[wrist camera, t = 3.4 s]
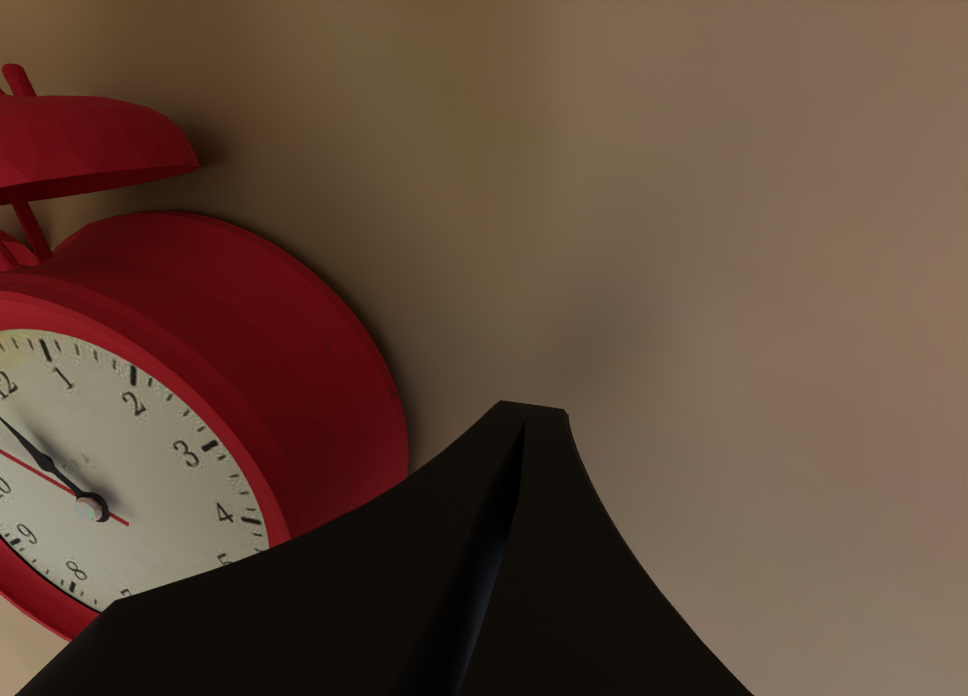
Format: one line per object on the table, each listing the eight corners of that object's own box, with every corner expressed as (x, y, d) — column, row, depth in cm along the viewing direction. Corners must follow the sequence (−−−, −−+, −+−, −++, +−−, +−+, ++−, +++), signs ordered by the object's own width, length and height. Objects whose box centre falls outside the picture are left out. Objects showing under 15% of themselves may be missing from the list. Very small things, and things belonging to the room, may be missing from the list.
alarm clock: (156, 737, 13) (-746, 317, 7) (262, 533, 19) (-192, 183, 12) (482, 677, 10) (-857, -414, 3) (502, 442, 15) (28, -148, 8)
